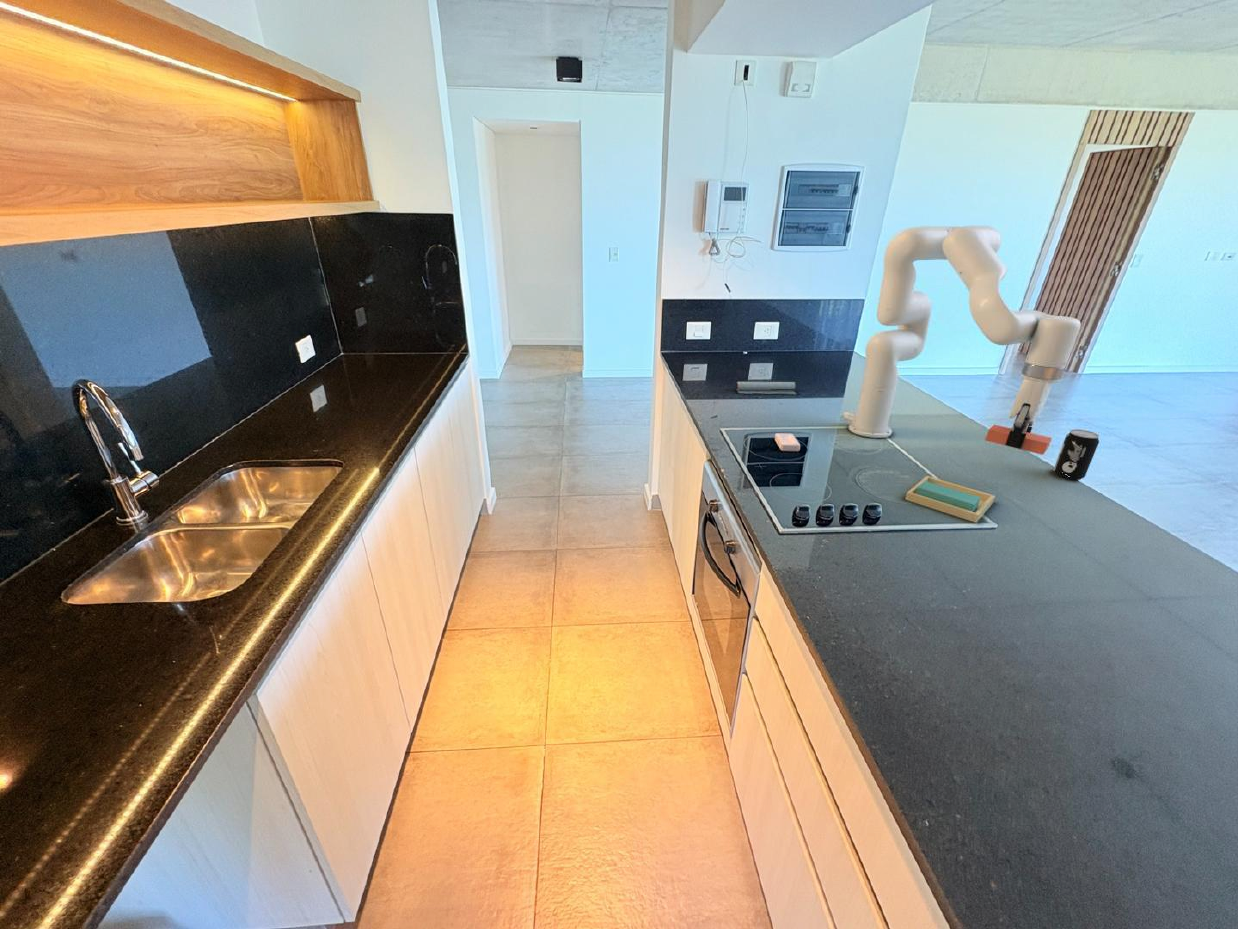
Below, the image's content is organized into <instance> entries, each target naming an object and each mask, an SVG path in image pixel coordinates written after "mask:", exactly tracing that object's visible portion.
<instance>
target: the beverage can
mask: <svg viewBox="0 0 1238 929" xmlns="http://www.w3.org/2000/svg"><path fill="white" fill-rule="evenodd" d="M1099 437H1100V434H1098V433H1096V432H1094V431H1090V430H1086V429H1077V428H1076V429H1071V430H1069V432H1068V433H1067V434H1066V435H1065V438H1064V440H1063V443H1062V445H1061V448H1060V450H1059V453H1058V457H1057V458H1056V461H1055V463H1054V467H1055V468H1054V467H1053V470H1052V472H1054V475H1056V476H1058V477H1059V478H1062V479H1066V480H1069V481H1080V480H1083V479H1084V478H1085V477H1086V476H1087V473H1088V470H1089V467H1090V466H1091V463H1092V460H1093V458H1094V456H1095V453H1096V452H1097V449H1098V447H1099V443H1100V440H1099ZM1062 472H1063V473H1062ZM1065 474H1067V475H1068V476H1070V477H1068V476H1067V475H1065Z"/></svg>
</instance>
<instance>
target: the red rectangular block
mask: <svg viewBox="0 0 1238 929" xmlns="http://www.w3.org/2000/svg"><path fill="white" fill-rule="evenodd" d="M1011 429H1012V427H1007V426H1003V425H998V424H993V425H992V426H991V427H990V428H989V429H988V431H987V434H986V437H985V439H984V441H986V442H990V443H994V444H998V445H1002V446H1006V441H1007V438H1008V436H1009V433H1010V430H1011ZM1025 433H1027V434H1026V437H1025V439H1024V442H1023V445H1022V447H1021V449H1020V450H1022V451H1026V452H1030V453H1034V454H1037V455H1041V456H1043V455H1045V453H1046V452H1047V451H1048V449H1049V446H1050V444H1051V441H1052V437H1050V436H1046V435H1041V434H1037V433H1032V432H1030V433H1029V432H1025ZM1006 447H1007V446H1006Z"/></svg>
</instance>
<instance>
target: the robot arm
mask: <svg viewBox="0 0 1238 929" xmlns="http://www.w3.org/2000/svg"><path fill="white" fill-rule="evenodd" d="M1001 244H1002V239H1001V235H1000V232H998V230H997V229H996V228H994V227H992V226H991V225H990V226H989V225H964V226H949V225H948V226H947V225H946V226H945V225H940V226H939V225H938V226H935V225H934V226H931V225H921V226H913V227H909V228H906V229H903V230H901V231H900V232H898V233H897V234H895V235H894V236H893V237H892V239H890V241H889V242H888V244H887V246H886V248H885V250H884V255H883V270H882V279H881V283H880V291H879V297H878V303H877V311H876V318H877V321H878V322H879V324H880V325H882V326H886V327H897V329H890V330H883V331H879V332H877V333H875V334H873V335H872V336H871V337H870V338H869V339H868V340H867V342H866V344H865V345H866V346H865V366H864V374H863V380H862V383H861V384H862V385H861V388H860V394H859V400H858V406H857V410H856V413H852V412H847V411H845V412H844V413H843V420H844V421H849V422H850V423H849V424H848V430H849V431H850V432H851V433H853V434H855V435H858V436H861V437H866V438H871V439H872V438H873V439H884V438H887V437H888V438H889V437H891V435H892V433H893V429H892V428H891V427H889V422H890V417H891V412H892V409H893V408H892V407H893V403H894V401H895V400H894V399H895V395H896V390H897V385H898V380H899V371H898V366H897V364H898V363H899V362H905V361H910V360H913V359H916V358H918V357H919V356H920V355H921V353H922V352H923V350H924V347H925V345H926V341H927V335H928V330H929V327H930V326H929V325H930V320H931V315H932V303H931V299H930V298H929V295H927V294H926V293H925V292H923V291H920V290H914V289H915V283H916V279H917V274H916V268H915V264H914V262H916V261H936V260H940V261H943V260H945V261H948V262H949V264H950V265H951V266H952V268H953V270H954V271H955V272H956V274H957V275H958V277H959V278H960V280H961V281H962V282H963V284H964V285H965V287H966V289H967V290H968V292H969V293H968V294H969V295H968V296H969V297H968V304H969V310H970V315H971V317H972V319H973V321H974V322H975V324H976V326H977V327H978V329H979V330H980V331H981V333H982V334H983V336H984V337H985V338H986V339H987V340H988V341H989V342H991V343H993V344H995V345H998V346H1009V345H1010V346H1011V345H1017V344H1029V343H1031V344H1030V345H1029V346H1030V347H1029V349H1028V352H1027V356H1026V358H1025V361H1024V363H1023V366H1022V369H1021V372H1020V376H1021V378H1023V380H1022V382H1021V384H1020V387H1019V389H1018V391H1017V394H1016V396H1015V398H1014V401H1013V404H1012V407H1011V408H1010V411H1009V413H1008V417H1009V419H1012V418H1014V422H1013V423H1012V426H1011V428H1012V429H1011V430H1010V433H1009V436H1008V438H1007V441H1006V447H1010V448H1013V449H1018V450H1021V447H1022V445H1023V442H1024V439H1025V437H1026V434H1027V433H1025V432H1029V433H1032V429H1033V425H1034V422H1035V420H1036V419H1037V418H1038V417H1039V416H1040V415H1041V413H1042V411H1043V409H1044V407H1045V404H1046V401H1047V400H1048V396H1049V394H1050V392H1051V389H1052V386H1053V383H1059V382H1061V381H1062V378H1063V374H1064V372H1065V370H1066V366H1067V364H1068V360H1069V358H1070V356H1071V353H1072V351H1073V348H1074V345H1075V343H1076V340H1077V338H1078V335H1079V333H1080V330H1081V326H1082V323H1081V321H1080V320H1079V319H1077V318H1075V317H1072V316H1071V317H1070V316H1064V315H1053V314H1050V313H1046V312H1043V311H1040V310H1035V309H1025V310H1024V309H1023V310H1014V311H1012V310H1011V309H1010V307H1009V305H1007V303H1006V302H1005V300H1004V298H1003V297H1002V294H1001V292H1000V284H1001V282H1002V280H1003V279H1004V278H1005V277H1006V276H1007V273H1008V268H1007V266H1006V265H1005V264H1004V263H1003V261H1002V260H1001V258H1000V257H999V256H998V254H997V253H998V251H999V250H1000V247H1001Z"/></svg>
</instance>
